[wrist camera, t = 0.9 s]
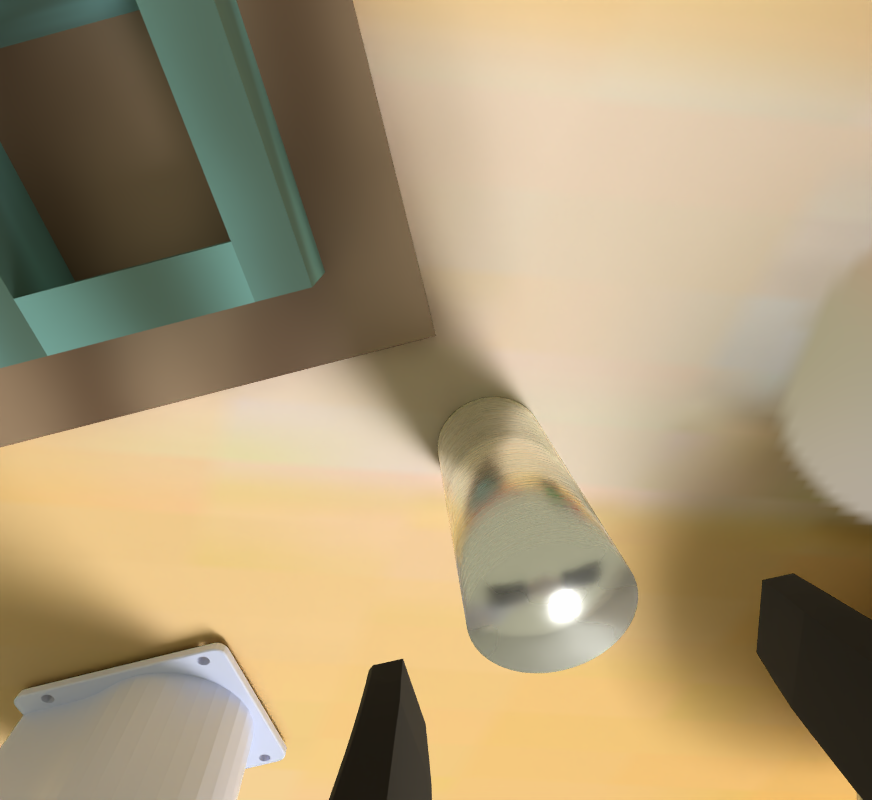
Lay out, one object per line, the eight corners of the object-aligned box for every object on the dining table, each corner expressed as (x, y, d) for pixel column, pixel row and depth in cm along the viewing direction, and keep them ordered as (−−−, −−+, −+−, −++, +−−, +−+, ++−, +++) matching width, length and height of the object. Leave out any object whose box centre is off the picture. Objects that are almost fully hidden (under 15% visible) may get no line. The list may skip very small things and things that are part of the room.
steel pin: (450, 500, 19) (485, 688, 12) (426, 412, 18) (449, 567, 10) (548, 475, 19) (643, 651, 12) (532, 385, 18) (631, 522, 10)
